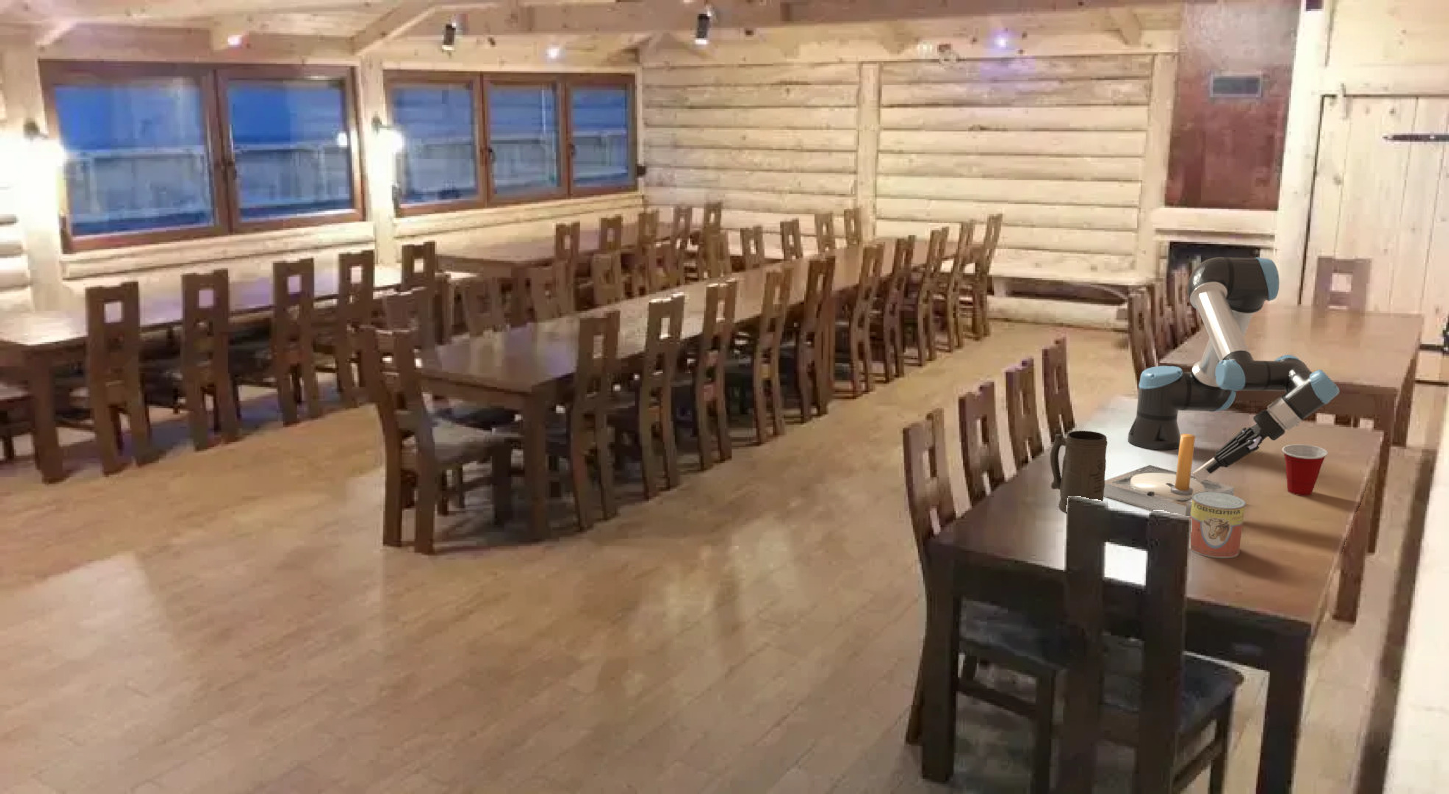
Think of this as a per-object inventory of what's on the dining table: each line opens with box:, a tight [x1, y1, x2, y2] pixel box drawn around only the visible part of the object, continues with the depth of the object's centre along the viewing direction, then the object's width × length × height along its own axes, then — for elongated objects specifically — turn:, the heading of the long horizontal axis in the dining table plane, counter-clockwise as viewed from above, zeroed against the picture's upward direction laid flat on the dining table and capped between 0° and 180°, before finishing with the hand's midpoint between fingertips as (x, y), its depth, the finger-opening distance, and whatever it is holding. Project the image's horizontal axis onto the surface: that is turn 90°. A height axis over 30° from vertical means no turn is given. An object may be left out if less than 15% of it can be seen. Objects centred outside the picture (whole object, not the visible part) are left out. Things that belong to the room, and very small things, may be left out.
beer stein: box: [1049, 430, 1108, 513], centre depth 287 cm, size 15×11×20 cm
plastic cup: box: [1281, 443, 1329, 496], centre depth 300 cm, size 11×11×12 cm
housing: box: [1103, 464, 1235, 516], centre depth 296 cm, size 24×24×4 cm
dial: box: [1130, 433, 1204, 500], centre depth 294 cm, size 19×18×16 cm
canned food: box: [1189, 492, 1246, 559], centre depth 261 cm, size 11×11×12 cm
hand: (1196, 477), depth 287 cm, fingers closed
